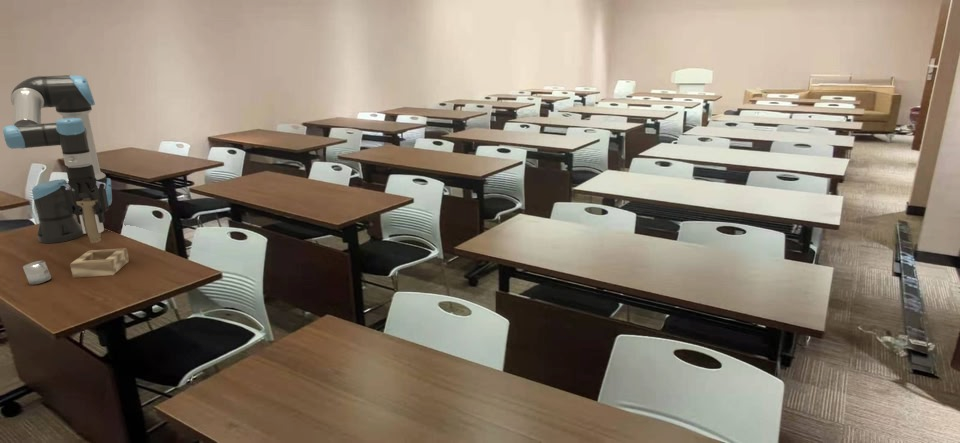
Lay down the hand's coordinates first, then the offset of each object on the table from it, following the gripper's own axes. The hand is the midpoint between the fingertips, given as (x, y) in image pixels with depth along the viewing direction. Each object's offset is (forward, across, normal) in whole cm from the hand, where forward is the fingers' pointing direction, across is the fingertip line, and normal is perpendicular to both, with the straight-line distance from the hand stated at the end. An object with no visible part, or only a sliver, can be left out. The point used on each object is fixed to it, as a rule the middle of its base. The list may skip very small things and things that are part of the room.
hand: (93, 231), depth 196 cm
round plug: (+14, -16, -8) cm, 22 cm away
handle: (+4, 0, 0) cm, 4 cm away
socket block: (+14, 0, 0) cm, 14 cm away
